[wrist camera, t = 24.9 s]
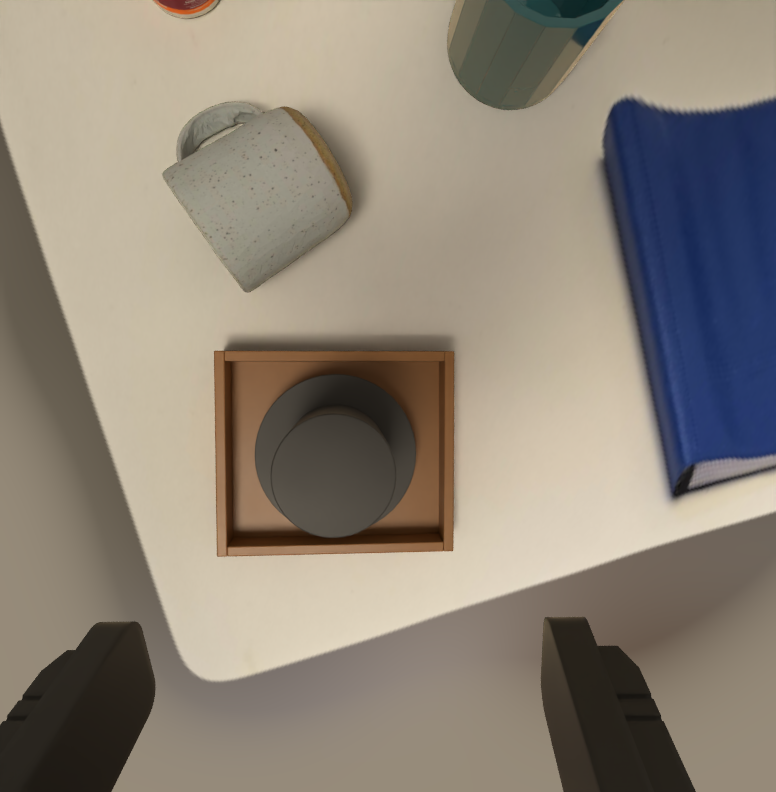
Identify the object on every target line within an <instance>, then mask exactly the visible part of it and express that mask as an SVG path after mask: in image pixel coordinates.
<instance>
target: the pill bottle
mask: <svg viewBox="0 0 776 792" xmlns="http://www.w3.org/2000/svg"><path fill="white" fill-rule="evenodd" d="M153 1H154V3H155V4H156V5H157V6H158V7H159V8H161V9H162V10H163V11H165V12H166V13H168V14H170V15H172V16H175V17H179V18H194V17H198V16H201V15H204V14H205V13H207V12H208V11H210V10H211V9H213V8H214V7H215V5H216V4H217V3H218V1H219V0H153Z"/></svg>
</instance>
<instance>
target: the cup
mask: <svg viewBox="0 0 776 792" xmlns="http://www.w3.org/2000/svg"><path fill="white" fill-rule="evenodd" d="M624 1H625V0H456V2H455V6H454V9H453V12H452V16H451V19H450V22H449V30H448V37H447V49H448V56H449V61H450V64H451V67H452V69H453V72H454V74H455V76H456V77H457V79H458V81H459V82H460V84H461V85H462V86H463V87H464V89H465V90H466V91H467V92H468V93H469V94H471V95H472V96H473V97H474V98H476V99H477V100H479V101H480V102H482V103H484V104H486V105H489V106H491V107H494V108H499V109H505V110H518V109H523V108H527V107H530V106H533V105H535V104H537V103H540V102H541V101H543V100H544V99H546V98H547V97H548V96H549V95H551V94H552V93H553V92H554V91H555V89H556V88H557V87H558V86H559V85H560V84H561V83H562V82H563V81H564V80H565V78H566V77H567V76H568V74H569V73H570V72H571V70H572V69H573V68H574V66H575V65H576V64H577V63H578V61H579V60H580V59H581V57H582V56H583V55H584V53H585V52H586V51H587V49H588V48H589V47H590V45H591V44H592V43H593V41H594V40H595V39H596V37H597V36H598V35H599V34H600V32H601V31H602V30H603V28H604V27H605V26H606V24H607V23H608V22H609V20H610V19H611V18H612V16H613V15H614V14H615V12H616V11H617V10H618V8H619V7H620V6H621V5H622V3H623V2H624Z"/></svg>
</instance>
